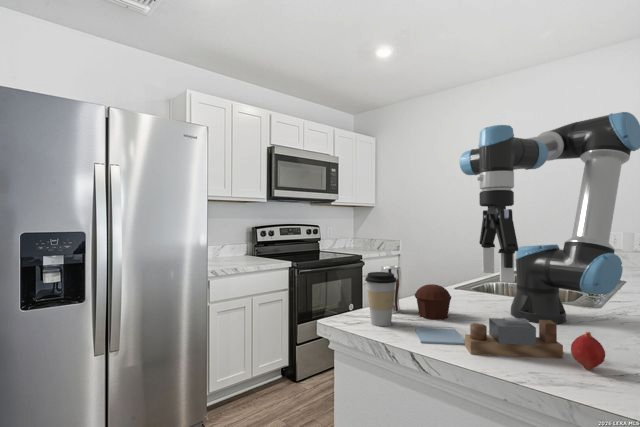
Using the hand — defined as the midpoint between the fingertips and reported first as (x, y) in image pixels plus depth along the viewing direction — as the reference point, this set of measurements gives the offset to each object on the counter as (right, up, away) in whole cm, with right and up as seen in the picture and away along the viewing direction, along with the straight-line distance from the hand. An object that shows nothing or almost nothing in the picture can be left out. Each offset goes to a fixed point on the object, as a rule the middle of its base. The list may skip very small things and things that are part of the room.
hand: (496, 277), depth 86 cm
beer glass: (-19, -18, +35) cm, 44 cm away
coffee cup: (-25, -18, +21) cm, 37 cm away
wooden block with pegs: (+2, -17, -2) cm, 18 cm away
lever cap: (+2, -14, -2) cm, 15 cm away
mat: (-11, -18, +9) cm, 23 cm away
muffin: (-7, -18, +28) cm, 34 cm away
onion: (+13, -18, -12) cm, 25 cm away
